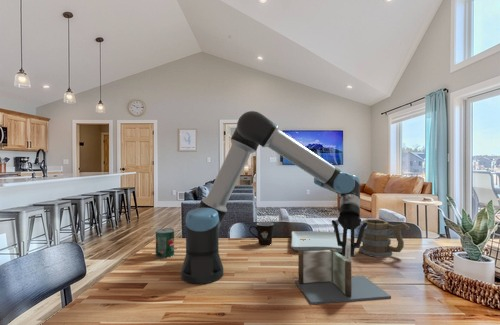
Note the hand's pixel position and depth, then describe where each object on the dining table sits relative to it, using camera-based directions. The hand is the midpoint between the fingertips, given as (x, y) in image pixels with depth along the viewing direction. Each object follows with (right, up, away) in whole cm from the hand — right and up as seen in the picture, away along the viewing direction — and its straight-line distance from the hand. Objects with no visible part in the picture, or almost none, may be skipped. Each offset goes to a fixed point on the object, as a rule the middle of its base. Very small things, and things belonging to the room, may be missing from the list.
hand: (347, 264), depth 94 cm
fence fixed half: (-11, -5, -2) cm, 12 cm away
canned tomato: (-71, -6, +27) cm, 76 cm away
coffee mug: (-27, -6, +44) cm, 52 cm away
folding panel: (-4, -5, -7) cm, 10 cm away
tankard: (+26, -6, +28) cm, 38 cm away
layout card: (-5, -6, -6) cm, 10 cm away
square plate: (+1, -6, +41) cm, 42 cm away
